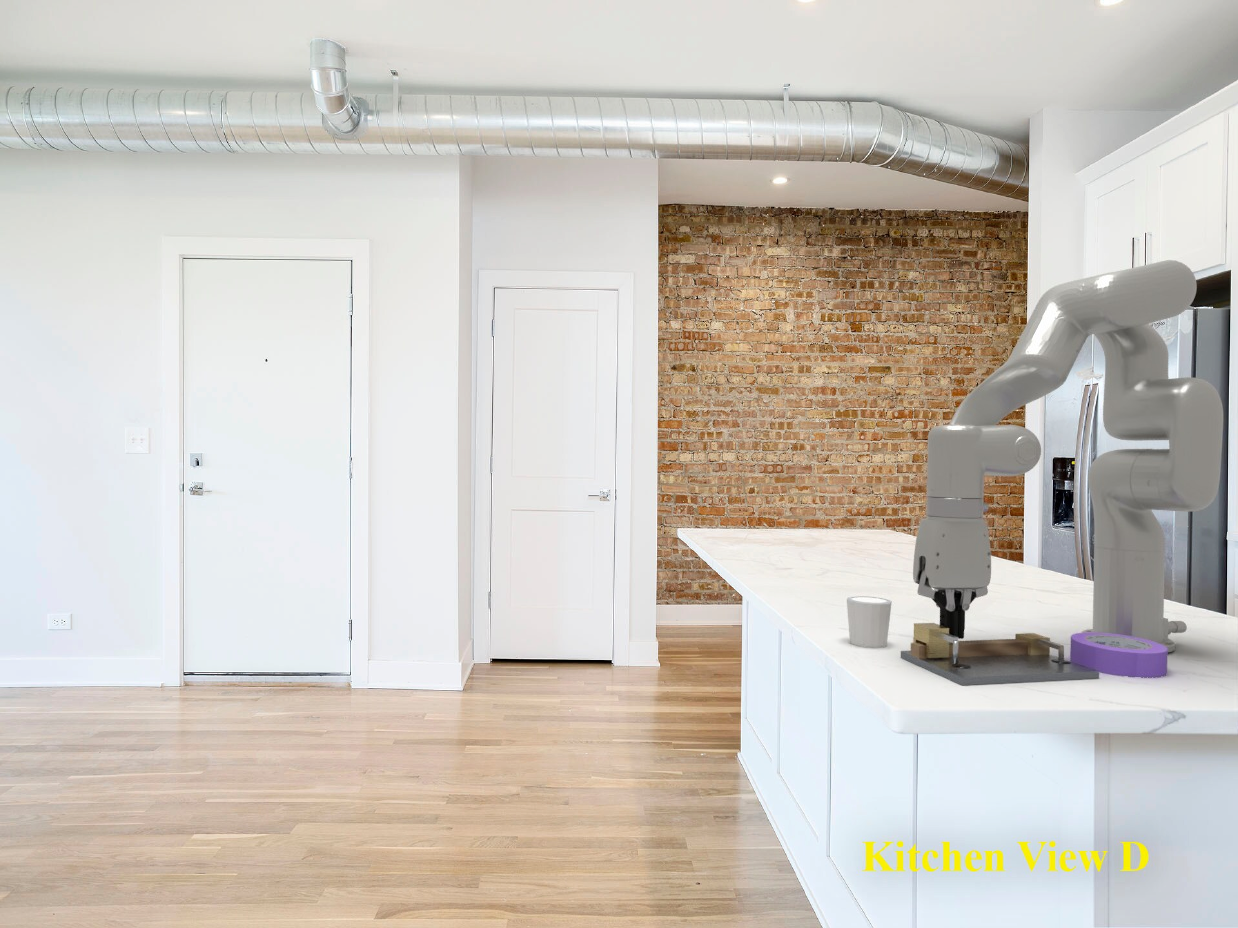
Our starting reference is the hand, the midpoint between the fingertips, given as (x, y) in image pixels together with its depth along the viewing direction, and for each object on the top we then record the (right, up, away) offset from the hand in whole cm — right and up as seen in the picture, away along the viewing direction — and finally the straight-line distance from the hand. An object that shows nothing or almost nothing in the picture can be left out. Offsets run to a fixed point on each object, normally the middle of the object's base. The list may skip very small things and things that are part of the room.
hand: (951, 636), depth 110 cm
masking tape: (+24, -5, -1) cm, 24 cm away
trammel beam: (+5, -3, -1) cm, 6 cm away
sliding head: (-3, -2, -3) cm, 5 cm away
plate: (+5, -4, -2) cm, 7 cm away
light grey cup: (-9, -4, +11) cm, 14 cm away
